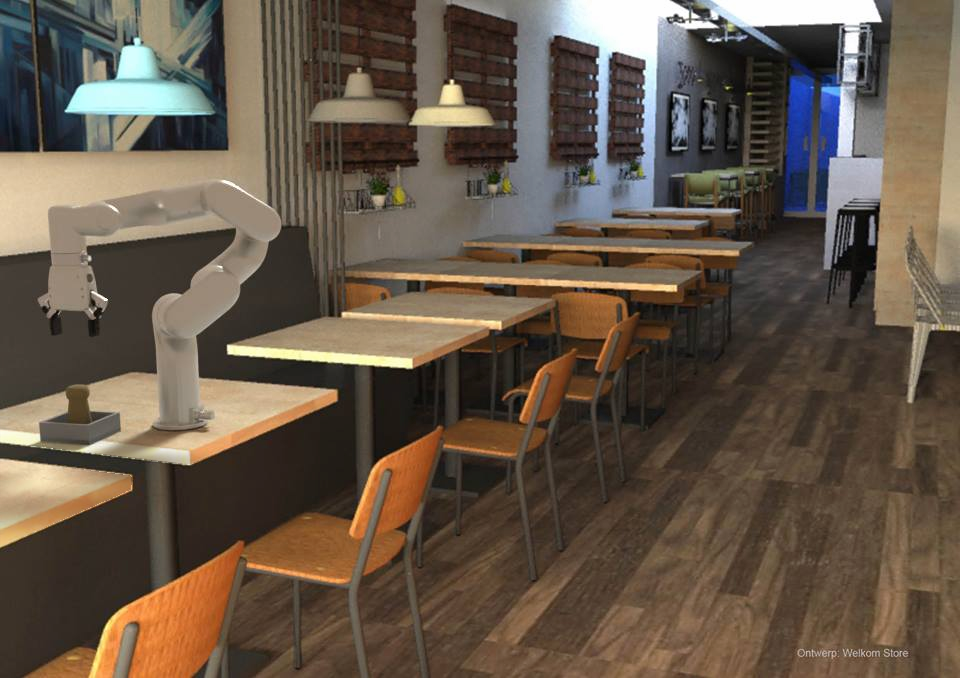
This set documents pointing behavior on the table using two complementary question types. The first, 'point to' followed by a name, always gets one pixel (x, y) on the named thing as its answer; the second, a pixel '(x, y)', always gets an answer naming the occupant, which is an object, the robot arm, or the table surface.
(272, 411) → the table surface
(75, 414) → the cork
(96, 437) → the box
